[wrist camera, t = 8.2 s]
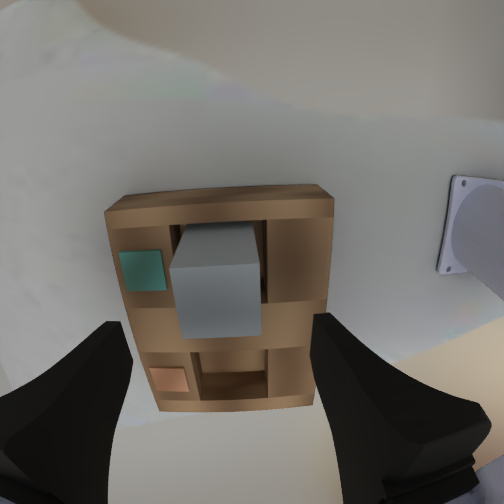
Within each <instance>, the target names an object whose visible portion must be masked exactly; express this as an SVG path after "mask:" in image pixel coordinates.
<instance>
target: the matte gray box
mask: <svg viewBox="0 0 504 504" xmlns="http://www.w3.org/2000/svg"><path fill="white" fill-rule="evenodd" d="M169 271H170V277H171V283H172V288H173V294H174V299H175V304H176V309H177V315H178V320H179V324H180V329H181V334H182V339H195V338H222V337H241V336H257V335H262V326H261V292H260V263H259V257H258V251H257V246H256V240H255V234H254V229H253V223H252V220H248V221H229V222H210V223H193V224H187V225H186V228H185V230H184V233H183V235H182V237H181V240H180V242H179V245H178V247H177V250H176V252H175V255H174V257H173V260H172V262H171V265H170V267H169Z"/></svg>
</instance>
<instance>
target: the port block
mask: <svg viewBox="0 0 504 504" xmlns="http://www.w3.org/2000/svg"><path fill="white" fill-rule="evenodd" d="M104 214H105V220H106V226H107V231H108V236H109V241H110V246H111V251H112V256H113V260H114V265H115V269H116V273H117V278H118V282H119V286H120V290H121V294H122V298H123V301H124V305H125V309H126V312H127V316H128V320H129V323H130V326H131V330H132V333H133V337H134V340H135V343H136V346H137V349H138V352H139V356H140V359H141V362H142V365H143V368H144V370H145V373H146V376H147V379H148V382H149V385H150V387H151V390H152V393H153V395H154V398H155V401H156V403H157V406H158V409H159V411H165V412H235V411H253V410H254V411H255V410H269V409H280V408H291V407H300V406H309V405H313V400H314V393H315V388H316V383H315V380H314V376H313V371H312V366H311V361H310V356H309V355H310V345H311V335H312V325H313V314H319V313H326V305H327V295H328V285H329V274H330V262H331V250H332V235H333V219H334V198H333V197H332V196H331V195H329V194H328V193H327V192H326V191H325V190H323V189H322V188H321V187H320V186H319V185H274V186H247V187H227V188H210V189H195V190H181V191H169V192H157V193H146V194H136V195H126V196H124V197H122V198H121V199H120V200H118V201H117V202H116V203H115V204H113V205H112V206H111V207H110V208H108V209H107V210H106V211H105V212H104ZM248 220H252V223H253V229H254V234H255V240H256V246H257V251H258V257H259V263H260V292H261V326H262V335H257V336H241V337H222V338H195V339H182V334H181V329H180V324H179V320H178V315H177V309H176V304H175V299H174V294H173V288H172V283H171V277H170V271H169V267H170V265H171V262H172V260H173V257H174V255H175V252H176V250H177V247H178V245H179V242H180V240H181V237H182V235H183V233H184V230H185V228H186V225H187V224H193V223H210V222H229V221H248Z"/></svg>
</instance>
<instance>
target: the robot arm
mask: <svg viewBox="0 0 504 504" xmlns="http://www.w3.org/2000/svg"><path fill="white" fill-rule="evenodd" d="M462 181H463V184H461V183H462ZM447 267H448V269H447ZM446 269H447V270H446ZM437 271H438V273H439V274H441V275H447V274H455V273H463V272H471V273H472V274H473V275H475V276H476V277H477V278H478V279H479V280H480V281H482V282H483V283H484V284H485V285H486V286H487V287H489V288H490V289H491V290H492V291H493V292H494V293H496V294H497V295H498V296H499V297H500V298H501V299H502V300H503V301H504V181H502V180H494V179H486V178H478V177H469V176H459V175H456V176H454V177H453V179H452V185H451V193H450V201H449V208H448V215H447V221H446V227H445V233H444V239H443V244H442V249H441V254H440V259H439V263H438V268H437ZM309 356H310V361H311V366H312V371H313V376H314V380H315V383H316V386H317V389H318V392H319V394H320V398H321V401H322V404H323V407H324V409H325V412H326V416H327V418H328V421H329V424H330V428H331V431H332V436H333V441H334V446H335V451H336V456H337V462H338V468H339V473H340V480H341V488H342V495H343V504H504V455H502V456H500V457H499V458H497V459H495V460H494V461H492V462H490V463H488V464H486V465H485V466H483V467H481V468H480V469H479V470H477V471H476V472H474V469H473V467H472V466H473V465H474V464H475V459H474V457H473V455H472V453H473V452H474V451H475V450H476V449H477V448H478V446H479V445H480V444H481V443H482V442H483V441H484V439H485V438H486V437H487V435H488V434H489V432H490V429H491V426H492V425H491V421H490V420H489V418H488V416H487V415H486V414H485V412H484V410H483V409H482V407H481V406H480V404H479V403H477V402H473V401H469V400H465V399H462V398H459V397H455V396H452V395H449V394H447V393H444V392H442V391H439V390H437V389H434V388H432V387H430V386H428V385H425V384H423V383H421V382H419V381H417V380H416V379H414V378H412V377H410V376H408V375H406V374H405V373H403V372H401V371H400V370H398V369H396V368H395V367H393V366H392V365H390V364H389V363H387V362H386V361H385V360H383V359H382V358H380V357H379V356H378V355H377V354H375V353H374V352H373V351H371V350H370V349H369V348H368V347H366V346H365V345H364V344H363V343H362V342H361V341H359V340H358V339H357V338H356V337H355V336H354V335H353V334H352V333H351V332H350V331H348V330H347V329H346V328H345V327H344V326H343V325H342V324H341V323H340V322H339V321H338V320H337V319H336V318H335V317H334V316H333V315H332V314H331V313H319V314H313V325H312V335H311V345H310V355H309ZM132 366H133V359H132V356H131V353H130V350H129V347H128V344H127V341H126V338H125V335H124V332H123V328H122V325H121V322H120V321H106V322H105V323H103V324H102V325H101V326H100V327H98V328H97V329H96V330H95V331H94V332H93V333H91V334H90V335H89V336H88V337H87V338H86V339H85V340H84V341H82V342H81V343H80V344H79V345H78V346H77V347H76V348H74V349H73V350H72V351H71V352H70V353H68V354H67V355H66V356H65V357H64V358H62V359H61V360H60V361H59V362H57V363H56V364H55V365H54V366H52V367H51V368H50V369H48V370H47V371H46V372H44V373H43V374H41V375H40V376H38V377H37V378H35V379H34V380H32V381H30V382H28V383H27V384H25V385H23V386H21V387H20V388H18V389H16V390H14V391H12V392H10V393H8V394H6V395H4V396H2V397H0V504H108V476H109V465H110V456H111V448H112V443H113V437H114V432H115V428H116V425H117V422H118V418H119V415H120V412H121V409H122V405H123V402H124V399H125V396H126V393H127V390H128V386H129V383H130V378H131V372H132Z"/></svg>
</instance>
